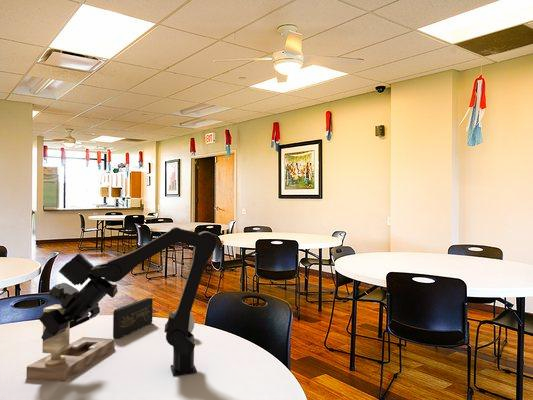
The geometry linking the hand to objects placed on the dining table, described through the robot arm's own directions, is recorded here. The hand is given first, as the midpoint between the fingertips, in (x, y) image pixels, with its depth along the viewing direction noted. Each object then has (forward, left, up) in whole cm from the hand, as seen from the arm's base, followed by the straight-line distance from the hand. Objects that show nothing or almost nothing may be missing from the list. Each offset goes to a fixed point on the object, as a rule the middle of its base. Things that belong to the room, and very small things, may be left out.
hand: (51, 334), depth 108 cm
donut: (+21, -38, -11) cm, 45 cm away
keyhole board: (+7, -5, -10) cm, 13 cm away
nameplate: (+33, -22, -11) cm, 41 cm away
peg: (-1, -1, -7) cm, 7 cm away
